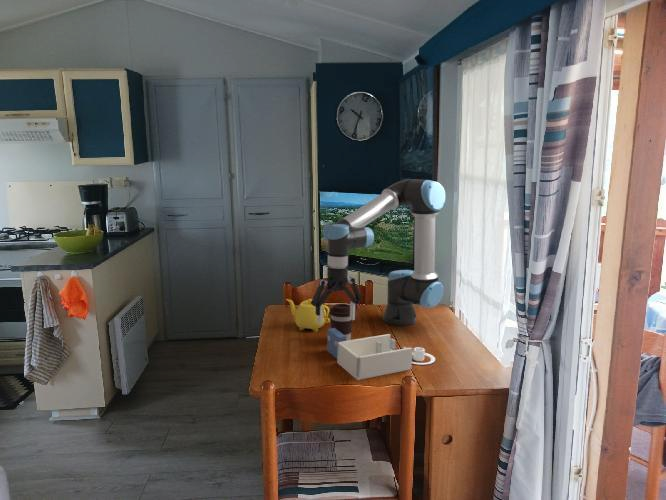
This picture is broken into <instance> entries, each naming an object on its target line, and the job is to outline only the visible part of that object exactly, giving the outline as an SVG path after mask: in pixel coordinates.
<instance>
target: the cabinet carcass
mask: <svg viewBox="0 0 666 500" xmlns="http://www.w3.org/2000/svg"><path fill="white" fill-rule="evenodd" d="M396 344H397V343H396V339H394V338H391V334H390V333H387V334H382V335H375V336H369V337H368V336H367V337H362V338H355V339H350V340H349V341H343V342H338V343H337V359H336V362H337V364H338V365H339V366H341V368H343V369H344V370H345V371H346V372H347V373H349V375H351V376H352V377H353V378H354V379H355V380H357V381H360V380H365V379H369V378H370V379H371V378H374V377H379V376H384V375H389V374H394V373H399V372H406V371H410V370H412V369H413V368H412V364H413V363H412V362H413V355H412V352H413V348H412V347H407V346H402V348H401V349H396Z"/></svg>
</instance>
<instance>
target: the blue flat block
mask: <svg viewBox="0 0 666 500" xmlns="http://www.w3.org/2000/svg"><path fill="white" fill-rule="evenodd" d="M326 336H327V338H326V339H327V340H326V341H327V343H326V346H327V348H326V349H327V351H326V352H328V353H329V354H331V356H333V357H334V358H335V359H336V360H337V343H338V342H343V341H346V336H345V335H343V334H342V333H341V332H339V331H338V330H337V329H335V328H331V327H330V328H327V335H326Z"/></svg>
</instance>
